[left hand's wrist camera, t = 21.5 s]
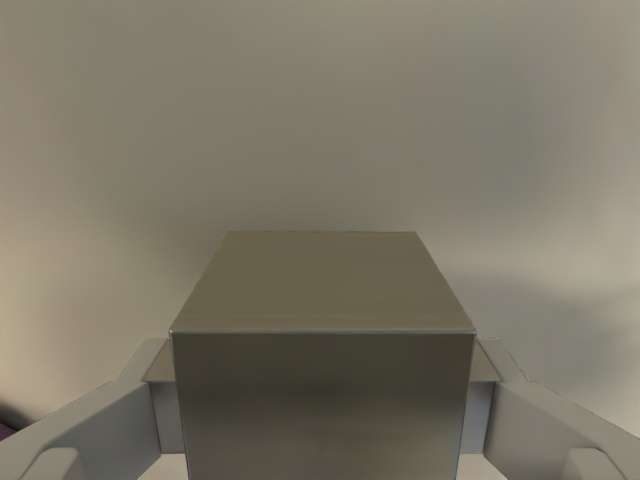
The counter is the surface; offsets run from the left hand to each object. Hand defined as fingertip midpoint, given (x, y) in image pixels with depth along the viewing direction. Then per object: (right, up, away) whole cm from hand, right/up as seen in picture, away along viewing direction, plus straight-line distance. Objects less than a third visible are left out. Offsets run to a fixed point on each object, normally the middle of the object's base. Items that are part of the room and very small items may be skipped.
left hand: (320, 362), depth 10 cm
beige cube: (0, +1, +2) cm, 2 cm away
